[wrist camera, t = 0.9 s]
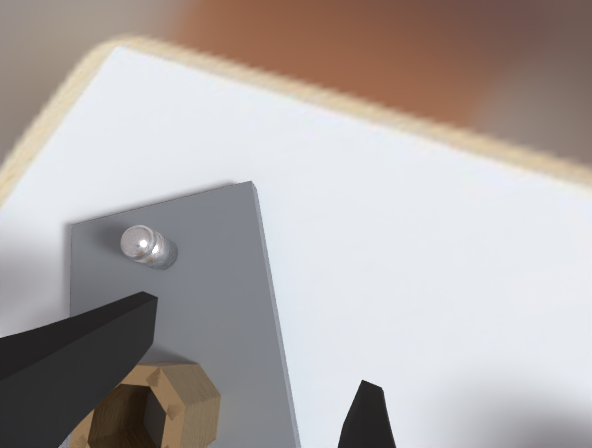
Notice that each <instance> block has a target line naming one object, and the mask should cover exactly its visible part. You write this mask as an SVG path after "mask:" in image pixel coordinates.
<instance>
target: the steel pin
mask: <svg viewBox="0 0 592 448" xmlns="http://www.w3.org/2000/svg"><path fill="white" fill-rule="evenodd" d="M120 244H121V249H122V251H123V253H124V254H125V255H126V256H127V257H128V258H130V259H132V260H135V261H137V262H140V263H142V264H144V265H147V266H149V267H152V268H154V269H156V270H166V269H168V268H170V267H171V266H172V265H173V264H174V263H175V262H176V260H177V258H178V248H177V246H176V244H175V243H174V242H173V241H171V240H169V239H168V238H166V237H164V236H163V235H161V234H159V233H158V232H156V231H154V230H153V229H151V228H149V227H147V226H143V225H137V226H133V227H131V228H129V229H127V230H126V231H125V232H124V234H123V235H122V237H121V243H120Z"/></svg>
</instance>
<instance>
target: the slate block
mask: <svg viewBox="0 0 592 448" xmlns="http://www.w3.org/2000/svg"><path fill="white" fill-rule="evenodd" d="M137 225H143V226H147V227H149V228H151V229H153V230H154V231H156V232H158V233H159V234H161V235H163V236H164V237H166V238H168V239H169V240H171V241H173V242H174V243H175V244H176V246H177V248H178V258H177V260H176V262H175V263H174V264H173V265H172V266H171V267H170V268H168V269H166V270H156V269H154V268H152V267H149V266H147V265H144V264H142V263H140V262H137V261H135V260H132V259H130V258H128V257H127V256H126V255H125V254H124V253H123V251H122V249H121V244H120V243H121V237H122V235H123V234H124V232H125V231H126V230H127V229H129V228H131V227H133V226H137ZM141 291H144V292H146V293H149V294H151V295H154V296H156V297H158V304H157V313H156V322H155V331H154V340H153V344H152V345H151V347H150V348H149V349H148V351H147V352H146V353H145V355H144V356H143V357H142V359H141V360H140V361H139V362H152V361H167V362H179V363H191V364H200V366H201V367H202V369H203V370H204V371H205V373H206V374H207V376H208V377H209V379H210V380H211V381H212V383H213V384H214V386H215V387H216V389H217V390H218V392H219V393H220V394H221V401H220V409H219V418H218V426H217V434H216V440H215V441H213V442H212V443H211V444H210V445H209V446H208V447H207V448H301V445H300V439H299V433H298V427H297V421H296V416H295V410H294V404H293V398H292V392H291V387H290V381H289V375H288V369H287V363H286V357H285V352H284V346H283V340H282V334H281V328H280V322H279V317H278V311H277V305H276V299H275V293H274V288H273V282H272V276H271V270H270V264H269V258H268V253H267V247H266V241H265V235H264V229H263V223H262V218H261V212H260V206H259V200H258V194H257V189H256V187H255V186H254V184H253V182H252V181H248V182H244V183H240V184H235V185H231V186H227V187H223V188H219V189H215V190H211V191H207V192H203V193H199V194H195V195H191V196H187V197H183V198H179V199H175V200H171V201H167V202H163V203H159V204H155V205H151V206H147V207H143V208H139V209H135V210H131V211H127V212H122V213H118V214H114V215H110V216H106V217H102V218H98V219H94V220H90V221H86V222H82V223H78V224H74V225H72V241H71V285H70V317H73V316H76V315H79V314H82V313H85V312H87V311H90V310H93V309H96V308H98V307H101V306H104V305H106V304H109V303H112V302H114V301H117V300H119V299H122V298H125V297H127V296H130V295H133V294H136V293H138V292H141ZM165 420H166V412H165V410H164V409H163V407H162V405H161V404H160V402H159V401H158V399H157V397H156V396H155V394H154V393H153V391H152V392H151V393H150V394H149V395H148V398H147V403H146V409H145V415H144V420H143V424H144V426H145V428H146V429H147V431H148V433H149V435H150V436H151V438H152V440H153V441H154V443H155V445H156V446H157V447H161V445H162V439H163V433H164V426H165ZM71 435H72V432H71V433H70V434H69V435H68V437H67V448H69V444H70V440H71Z"/></svg>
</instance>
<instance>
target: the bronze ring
mask: <svg viewBox="0 0 592 448" xmlns="http://www.w3.org/2000/svg"><path fill="white" fill-rule="evenodd" d="M152 391H153V393H154V394H155V396H156V397H157V399H158V401H159V402H160V404H161V405H162V407H163V409H164V410H165V412H166V420H165V426H164V433H163V439H162V445H161V447H157V446H156V445H155V443H154V441H153V440H152V438H151V436H150V435H149V433H148V431H147V429H146V428H145V426H144V424H143V420H144V415H145V409H146V403H147V398H148V395H149V394H150V393H151V392H152ZM220 401H221V394H220V393H219V392H218V390H217V389H216V387H215V386H214V384H213V383H212V381H211V380H210V379H209V377H208V376H207V374H206V373H205V371H204V370H203V369H202V367H201V366H200V364H191V363H179V362H167V361H152V362H138V364H137V365H136V366H135V367H134V369H133V370H132V371H131V372H130V373H129V374H128V375H127V376H126V377H125V378H124V379H123V380H122V381H121V382H120V383H119V384H118V385H117V386H116V387H115V388H114V389H113V390H112V391H111V392H110V393H109V394H108V395H107V396H106V397H105V398H104V399H103V400H102V401H101V402H100V403H99V404H98V405H97V406H96V407H95V408H94V409H93V410H92V411H91V412H90V413H89V414H88V415H87V416H86V417H85V418H84V419H83V420H82V421H81V422H80V424H79V425H78V426H77V427H76V428H75V429H74V430H73V431H72V435H71V440H70V444H69V448H207V447H208V446H209V445H210V444H211V443H212V442H213V441H215V440H216V434H217V426H218V418H219V409H220Z"/></svg>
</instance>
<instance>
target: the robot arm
mask: <svg viewBox="0 0 592 448" xmlns="http://www.w3.org/2000/svg"><path fill="white" fill-rule="evenodd" d="M157 304H158V297H156V296H154V295H151V294H149V293H146V292H144V291H141V292H138V293H136V294H133V295H130V296H127V297H125V298H122V299H119V300H117V301H114V302H112V303H109V304H106V305H104V306H101V307H98V308H96V309H93V310H90V311H87V312H85V313H82V314H79V315H76V316H73V317H70V318H67V319H64V320H61V321H58V322H55V323H52V324H49V325H46V326H43V327H40V328H36V329H33V330H29V331H26V332H22V333H18V334H14V335H10V336H6V337H2V338H0V448H58V447H59V446H60V445H61V444H62V443H63V441H64V440H65V439H66V438H67V437H68V435H69V434H70V433H71V432H72V431H73V430H74V429H75V428H76V427H77V426H78V425H79V424H80V422H81V421H82V420H83V419H84V418H85V417H86V416H87V415H88V414H89V413H90V412H91V411H92V410H93V409H94V408H95V407H96V406H97V405H98V404H99V403H100V402H101V401H102V400H103V399H104V398H105V397H106V396H107V395H108V394H109V393H110V392H111V391H112V390H113V389H114V388H115V387H116V386H117V385H118V384H119V383H120V382H121V381H122V380H123V379H124V378H125V377H126V376H127V375H128V374H129V373H130V372H131V371H132V370H133V369H134V367H135V366H136V365H137V364H138V362H139V361H140V360H141V359H142V357H143V356H144V355H145V353H146V352H147V351H148V349H149V348H150V347H151V345H152V344H153V340H154V331H155V322H156V313H157ZM338 448H396V445H395V442H394V438H393V434H392V430H391V426H390V422H389V418H388V413H387V408H386V403H385V398H384V392H383V390H382V388H381V387H379V386H377V385H374V384H372V383H369V382H367V381H364V380H362V381H361V384H360V386H359V388H358V391H357V393H356V395H355V398H354V400H353V402H352V405H351V407H350V410H349V412H348V414H347V417H346V419H345V421H344V424H343V427H342V431H341V435H340V440H339V444H338Z"/></svg>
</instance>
